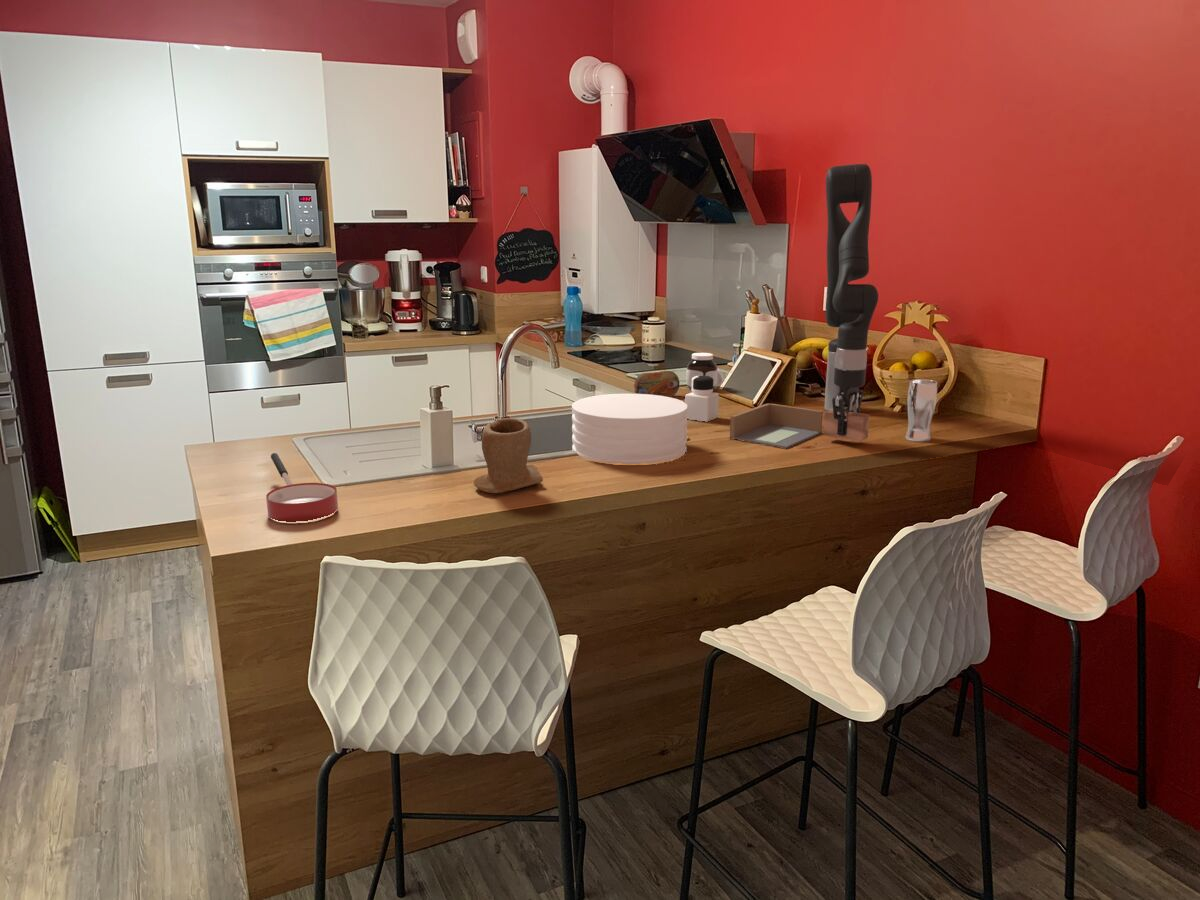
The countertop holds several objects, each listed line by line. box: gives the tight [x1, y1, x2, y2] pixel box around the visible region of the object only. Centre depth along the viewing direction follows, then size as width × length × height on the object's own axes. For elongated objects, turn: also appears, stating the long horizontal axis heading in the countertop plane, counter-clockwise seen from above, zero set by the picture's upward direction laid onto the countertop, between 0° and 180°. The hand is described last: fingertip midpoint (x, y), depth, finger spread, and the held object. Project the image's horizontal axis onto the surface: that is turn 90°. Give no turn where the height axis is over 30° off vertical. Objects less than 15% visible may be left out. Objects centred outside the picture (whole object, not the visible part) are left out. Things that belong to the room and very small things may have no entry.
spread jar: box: [685, 352, 724, 390], centre depth 293 cm, size 12×11×12 cm
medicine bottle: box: [684, 376, 720, 423], centre depth 252 cm, size 7×7×12 cm
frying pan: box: [265, 452, 339, 522], centre depth 182 cm, size 32×13×6 cm, turn 36°
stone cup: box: [473, 417, 544, 494], centre depth 189 cm, size 15×12×15 cm
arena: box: [729, 402, 824, 449], centre depth 233 cm, size 20×16×6 cm
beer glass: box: [905, 378, 938, 443], centre depth 229 cm, size 7×7×15 cm
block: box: [823, 409, 870, 442], centre depth 226 cm, size 4×10×6 cm, turn 52°
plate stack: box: [571, 393, 688, 464], centre depth 219 cm, size 28×28×12 cm
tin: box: [633, 370, 680, 398], centre depth 279 cm, size 15×3×8 cm, turn 115°
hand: (845, 432), depth 226 cm, fingers closed on block, 4 cm apart
